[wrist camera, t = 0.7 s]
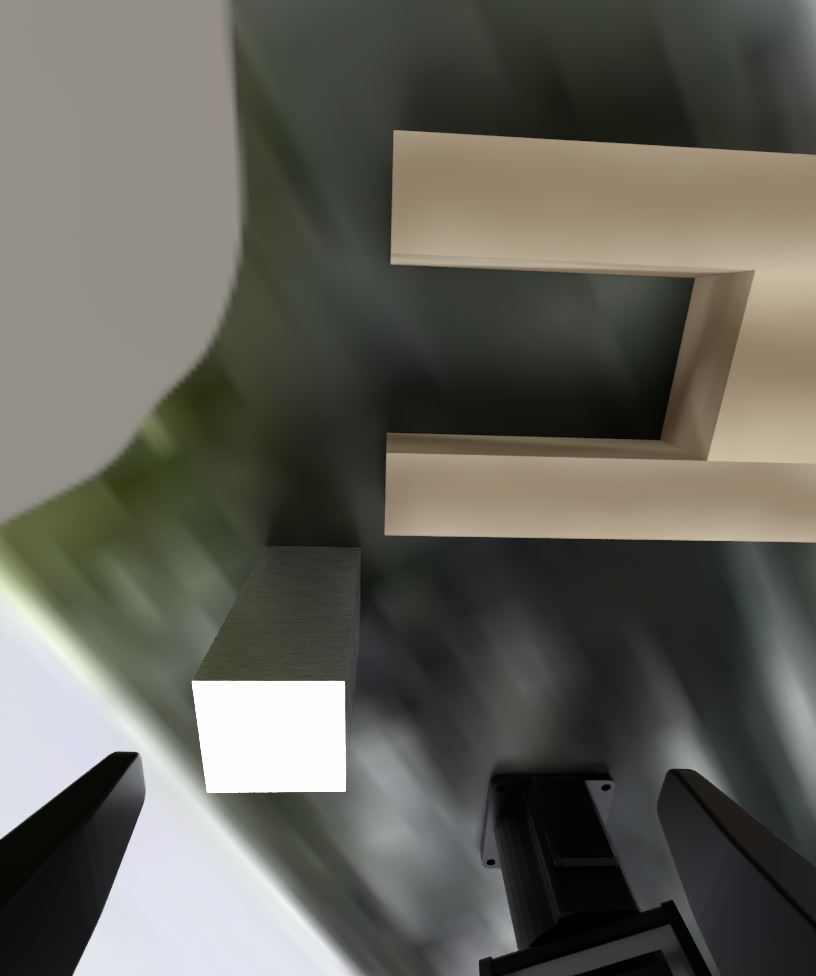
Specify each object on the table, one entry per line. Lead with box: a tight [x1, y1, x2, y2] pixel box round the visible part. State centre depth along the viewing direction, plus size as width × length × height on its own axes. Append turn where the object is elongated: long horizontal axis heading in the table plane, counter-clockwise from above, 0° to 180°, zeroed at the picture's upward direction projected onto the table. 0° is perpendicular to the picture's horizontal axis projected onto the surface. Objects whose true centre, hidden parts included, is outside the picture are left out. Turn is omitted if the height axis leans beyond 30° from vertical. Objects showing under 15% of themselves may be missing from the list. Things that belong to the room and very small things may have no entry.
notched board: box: [385, 130, 816, 542], centre depth 17 cm, size 12×16×3 cm
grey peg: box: [192, 546, 361, 792], centre depth 17 cm, size 4×4×8 cm
